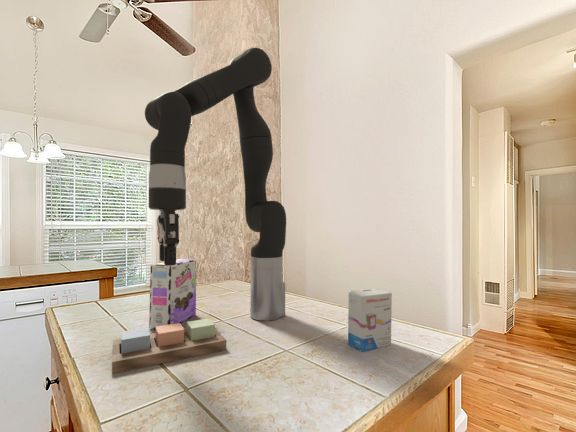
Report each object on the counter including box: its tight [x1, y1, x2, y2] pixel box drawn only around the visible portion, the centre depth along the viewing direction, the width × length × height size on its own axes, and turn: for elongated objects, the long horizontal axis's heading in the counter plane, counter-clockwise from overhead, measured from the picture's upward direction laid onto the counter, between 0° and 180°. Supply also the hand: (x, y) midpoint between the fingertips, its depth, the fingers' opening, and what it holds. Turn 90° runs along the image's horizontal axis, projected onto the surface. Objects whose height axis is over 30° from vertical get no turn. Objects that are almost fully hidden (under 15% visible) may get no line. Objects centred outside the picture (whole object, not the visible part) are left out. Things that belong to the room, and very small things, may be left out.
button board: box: [111, 327, 227, 374], centre depth 65 cm, size 21×12×2 cm, turn 119°
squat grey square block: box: [120, 327, 151, 354], centre depth 61 cm, size 5×5×3 cm
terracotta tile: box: [154, 323, 184, 347], centre depth 65 cm, size 5×5×3 cm
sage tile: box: [186, 318, 216, 341], centre depth 68 cm, size 5×5×3 cm
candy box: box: [148, 258, 197, 330], centre depth 83 cm, size 14×6×16 cm, turn 168°
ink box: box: [347, 287, 393, 353], centre depth 67 cm, size 9×5×12 cm, turn 117°
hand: (167, 262), depth 65 cm, fingers open, 8 cm apart
